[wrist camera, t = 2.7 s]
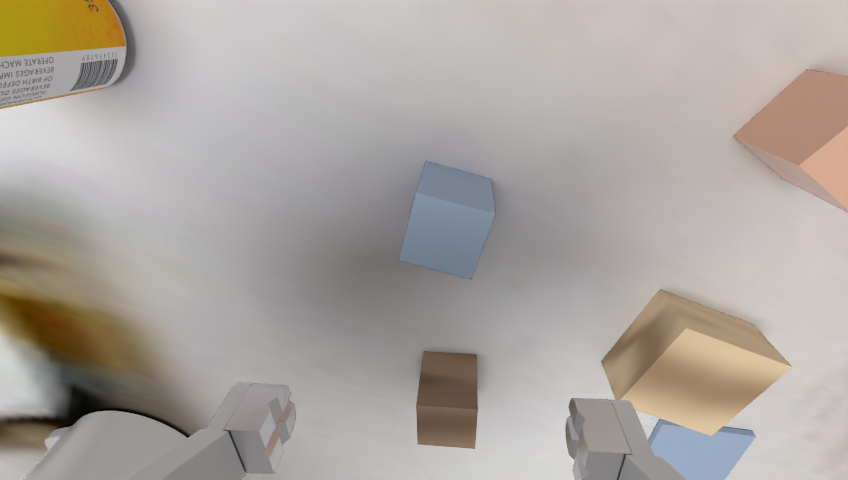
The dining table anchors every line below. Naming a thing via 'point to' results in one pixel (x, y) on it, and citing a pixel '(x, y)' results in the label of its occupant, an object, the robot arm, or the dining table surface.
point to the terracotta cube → (806, 135)
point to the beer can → (58, 49)
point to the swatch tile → (699, 449)
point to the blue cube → (449, 220)
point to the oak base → (691, 364)
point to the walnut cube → (447, 400)
